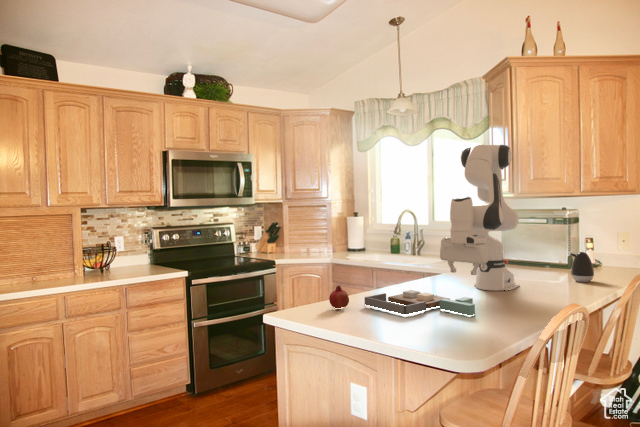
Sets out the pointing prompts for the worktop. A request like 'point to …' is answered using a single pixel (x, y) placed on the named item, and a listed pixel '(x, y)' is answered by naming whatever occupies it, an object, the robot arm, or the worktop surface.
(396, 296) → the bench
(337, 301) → the fruit
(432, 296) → the tile cream
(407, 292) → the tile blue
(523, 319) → the worktop surface
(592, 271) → the pump dispenser
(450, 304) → the scraper
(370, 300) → the tray
